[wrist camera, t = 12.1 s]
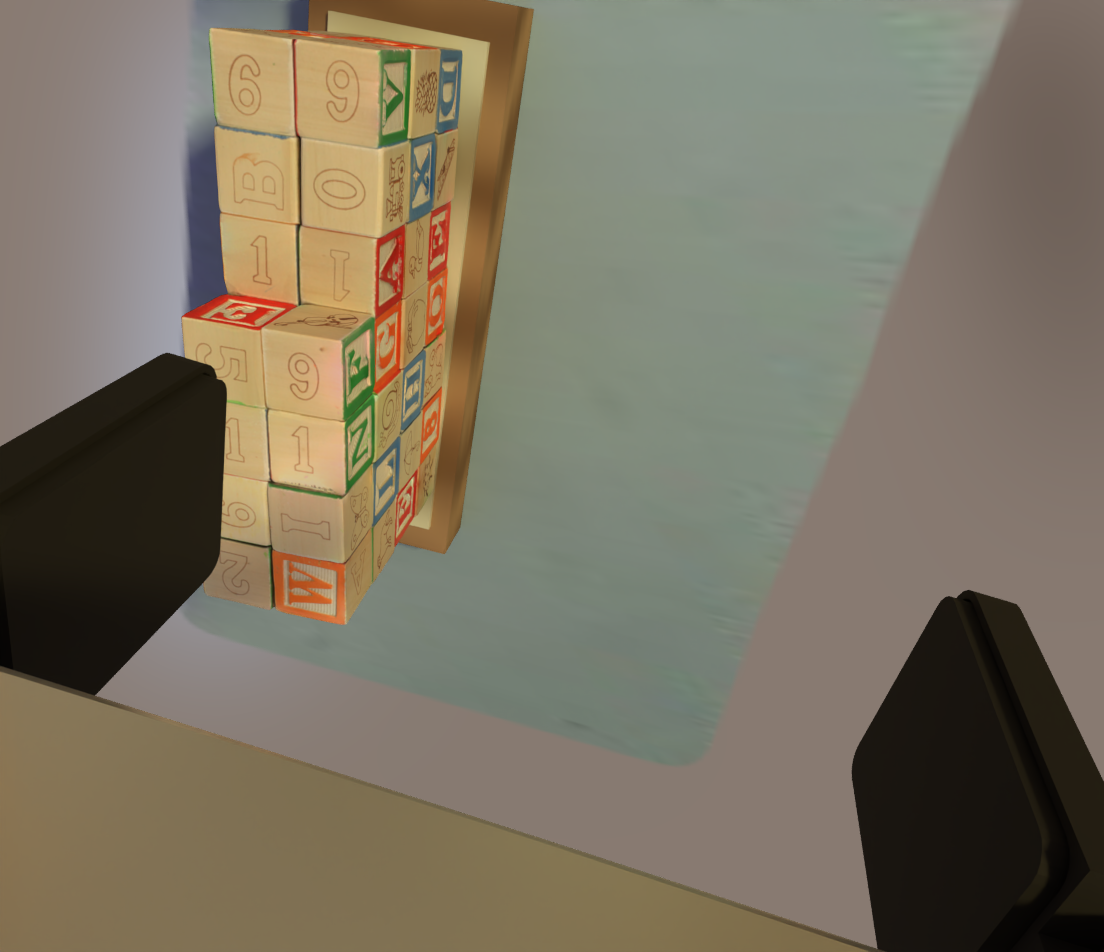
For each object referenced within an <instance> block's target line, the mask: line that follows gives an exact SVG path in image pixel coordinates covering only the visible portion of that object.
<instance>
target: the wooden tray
mask: <svg viewBox="0 0 1104 952" xmlns="http://www.w3.org/2000/svg"><path fill="white" fill-rule="evenodd" d="M533 11H534V9H529V8H524V7H519V6H514V5H509V4H503V3H498V2H493V1H488V0H309V20H308V31H328V32H340V33H349V34H358V35H365V36H372V37H379V38H386V39H390V40H395V41H403V42H410V43H417V44H425V45H432V46H439V47H446V48H453V49H460V50H462V54H463V57H462V75H461V91H460V107H459V119H458V147H457V161H456V175H455V190H454V198H453V199H452V200H451V213H450V228H449V246H448V258H447V268H448V277H447V292H446V303H445V321H444V328H445V330H446V342H445V358H444V372H443V382H442V397H441V412H440V427H439V438H438V441H437V448H436V460H435V474H434V488H433V491H432V493H431V494H430V496H429V498H428V499H427V501H426V503H425V504H424V506H423V508H422V509H421V511H420V512H419V514H418V515H417V516H416V517H414V518H413V520H412V522H411V523H410V525H409V526H408V528H407V529H406V531H405V533H404V534H403V536H402V538H401V539H400V540H399V543H403V544H407V545H411V546H415V547H419V548H423V549H427V550H431V551H434V552H438V553H442V554H445V553H446V551H447V549H448V548H449V546H450V544H451V542H452V541H453V539H454V537H455V535H456V534H457V532H458V530H459V528H460V524H461V517H462V510H463V503H464V496H465V489H466V482H467V475H468V468H469V461H470V454H471V447H472V440H473V433H474V426H475V419H476V412H477V405H478V398H479V391H480V383H481V376H482V369H483V362H484V355H485V348H486V341H487V334H488V327H489V320H490V313H491V306H492V299H493V292H494V285H495V278H496V271H497V264H498V257H499V250H500V243H501V236H502V229H503V222H504V215H505V208H506V201H507V194H508V187H509V180H510V173H511V166H512V159H513V152H514V145H515V138H516V130H517V123H518V116H519V109H520V102H521V95H522V88H523V81H524V74H525V67H526V60H527V53H528V46H529V39H530V32H531V25H532V18H533Z"/></svg>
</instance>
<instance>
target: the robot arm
mask: <svg viewBox="0 0 1104 952" xmlns="http://www.w3.org/2000/svg"><path fill="white" fill-rule="evenodd" d="M226 407H227V388H226V384H225V383H224V381H223V380H220V379H217V375H216V372H215V369H214V368H213V367H212V366H211V365H208V364H204V363H201V362H198V361H194V360H191V359H188V358H184V357H181V356H177V355H174V354H170V353H165V354H162V355H160V356H158V357H156V358H154V359H153V360H151V361H149V362H148V363H146V364H144V365H142V366H140V367H139V368H137V369H135V370H133V371H132V372H130V373H128V374H127V375H125V376H123V377H121V378H120V379H118V380H116V381H114V382H112V383H111V384H109V385H107V386H105V387H104V388H102V389H100V390H98V391H97V392H95V393H93V394H91V395H90V396H88V397H86V398H85V399H83V400H81V401H79V402H77V403H76V404H74V405H72V406H70V407H69V408H67V409H65V410H63V411H62V412H60V413H58V414H56V415H55V416H53V417H51V418H50V419H48V420H46V421H44V422H43V423H41V424H39V425H37V426H35V427H34V428H32V429H30V430H28V431H27V432H25V433H23V434H22V435H20V436H18V437H16V438H15V439H13V440H11V441H9V442H7V443H6V444H4V445H2V446H1V447H0V952H1104V781H1103V779H1102V777H1101V775H1100V773H1099V771H1098V769H1097V767H1096V765H1095V763H1094V761H1093V758H1092V756H1091V754H1090V752H1089V750H1088V748H1087V746H1086V744H1085V742H1084V740H1083V738H1082V736H1081V734H1080V731H1079V729H1078V727H1077V725H1076V723H1075V721H1074V719H1073V717H1072V715H1071V713H1070V711H1069V709H1068V707H1067V705H1066V702H1065V701H1064V698H1063V697H1062V694H1061V692H1060V690H1059V688H1058V686H1057V684H1056V682H1055V680H1054V678H1053V675H1052V673H1051V671H1050V669H1049V667H1048V665H1047V663H1046V661H1045V659H1044V657H1043V655H1042V653H1041V651H1040V648H1039V646H1038V644H1037V642H1036V640H1035V638H1034V636H1033V634H1032V632H1031V630H1030V628H1029V626H1028V624H1027V621H1026V620H1025V617H1024V615H1023V613H1022V611H1021V609H1020V608H1019V607H1018V606H1017V604H1014V603H1011V602H1008V601H1004V600H1001V599H998V598H994V597H991V596H988V595H984V594H980V593H977V592H974V591H971V590H967V591H964V592H962V593H961V594H960V595H959V596H958V597H957V598H953V597H950V596H948V597H945V598H944V599H943V600H942V601H941V602H940V603H939V605H938V606H937V608H936V610H935V611H934V613H933V615H932V617H931V619H930V620H929V622H928V624H927V625H926V627H925V629H924V631H923V633H922V634H921V636H920V638H919V640H918V642H917V643H916V645H915V647H914V648H913V650H912V652H911V654H910V656H909V657H908V659H907V661H906V662H905V664H904V666H903V668H902V669H901V671H900V673H899V675H898V677H897V679H896V680H895V682H894V684H893V685H892V687H891V689H890V691H889V692H888V694H887V696H886V698H885V699H884V701H883V703H882V705H881V707H880V708H879V710H878V712H877V714H876V715H875V717H874V719H873V721H872V722H871V724H870V726H869V728H868V729H867V731H866V733H865V735H864V736H863V738H862V740H861V742H860V743H859V745H858V747H857V750H856V752H855V755H854V759H853V764H852V781H853V788H854V794H855V801H856V808H857V815H858V821H859V828H860V835H861V841H862V848H863V855H864V861H865V868H866V874H867V881H868V888H869V894H870V901H871V908H872V915H873V921H874V928H875V935H876V941H877V948H878V949H876V948H873V947H870V946H867V945H864V944H861V943H858V942H855V941H852V940H849V939H846V938H843V937H840V936H837V935H834V934H831V933H828V932H825V931H822V930H819V929H816V928H813V927H810V926H807V925H804V924H801V923H798V922H795V921H792V920H789V919H786V918H783V917H779V916H776V915H773V914H770V913H767V912H764V911H761V910H758V909H755V908H752V907H749V906H746V905H743V904H740V903H737V902H734V901H731V900H728V899H725V898H722V897H719V896H716V895H713V894H710V893H707V892H704V891H700V890H697V889H694V888H691V887H688V886H685V885H682V884H679V883H676V882H673V881H670V880H667V879H664V878H661V877H658V876H655V875H652V874H649V873H646V872H643V871H640V870H637V869H634V868H631V867H627V866H625V865H622V864H618V863H615V862H612V861H609V860H606V859H603V858H600V857H597V856H594V855H591V854H588V853H585V852H582V851H579V850H575V849H573V848H569V847H566V846H563V845H560V844H557V843H554V842H551V841H548V840H545V839H542V838H539V837H535V836H532V835H529V834H526V833H523V832H520V831H517V830H514V829H511V828H508V827H505V826H501V825H499V824H495V823H492V822H489V821H486V820H483V819H480V818H477V817H474V816H471V815H468V814H465V813H461V812H458V811H455V810H452V809H449V808H446V807H443V806H439V805H436V804H433V803H430V802H427V801H424V800H421V799H418V798H415V797H412V796H408V795H405V794H402V793H399V792H396V791H393V790H390V789H387V788H384V787H381V786H377V785H374V784H371V783H368V782H365V781H362V780H359V779H356V778H353V777H350V776H347V775H343V774H340V773H337V772H334V771H331V770H328V769H325V768H321V767H319V766H315V765H312V764H309V763H306V762H303V761H300V760H296V759H293V758H290V757H287V756H284V755H280V754H278V753H274V752H271V751H268V750H265V749H262V748H258V747H255V746H252V745H249V744H246V743H243V742H240V741H236V740H233V739H230V738H227V737H224V736H221V735H217V734H214V733H211V732H208V731H205V730H202V729H199V728H195V727H192V726H189V725H186V724H182V723H180V722H176V721H173V720H170V719H167V718H163V717H160V716H157V715H154V714H151V713H148V712H145V711H142V710H138V709H135V708H132V707H129V706H126V705H123V704H120V703H116V702H113V701H110V700H107V699H103V698H101V697H97V696H95V695H96V694H97V693H98V692H99V691H100V690H101V689H102V688H103V687H104V686H105V685H106V683H107V682H108V681H109V680H110V679H111V678H112V677H113V676H114V675H115V674H116V673H117V672H118V671H119V670H120V669H121V668H122V667H123V666H124V665H125V664H126V663H127V662H128V661H129V660H130V658H131V657H132V656H133V655H134V654H135V653H136V652H137V651H138V650H139V649H140V648H141V647H142V646H143V645H144V644H145V643H146V642H147V641H148V640H149V639H150V638H151V636H152V635H153V634H154V633H155V632H156V631H157V630H158V629H159V628H160V627H161V626H162V625H163V624H164V623H165V622H166V621H167V620H168V619H169V618H170V617H171V616H172V615H173V614H174V613H175V612H176V610H178V608H179V607H180V606H181V605H182V604H183V603H184V602H185V601H186V600H187V599H188V598H189V597H190V596H191V595H192V594H193V593H194V592H195V591H196V590H197V589H198V588H199V587H200V586H201V585H202V583H203V582H204V581H205V580H206V579H207V578H208V577H209V576H210V575H211V573H212V572H213V570H214V568H215V566H216V564H217V562H218V558H219V555H220V548H221V524H222V501H223V478H224V454H225V431H226Z"/></svg>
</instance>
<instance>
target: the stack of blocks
mask: <svg viewBox="0 0 1104 952" xmlns="http://www.w3.org/2000/svg"><path fill="white" fill-rule="evenodd" d="M209 45H210V58H211V71H212V86H213V101H214V113H215V117H216V121H217V125H216V126H215V127H214V137H215V150H216V168H217V181H218V197H219V208H220V211H221V214H220V235H221V248H222V258H223V270H224V281H225V284H226V288H227V291H228V294H225V295H221V296H219V297H217V298H215V299H213V300H211V301H210V302H208V303H206V304H204V305H202V306H200V307H197V308H196V309H194V310H192V311H190V312H188V313H186V314H185V315H183V316H182V317H181V319H182V332H183V342H184V352H185V358H188V359H191V360H194V361H198V362H201V363H204V364H208V365H211V366H212V367H213V368H214V369H215V372H216V375H217V379H220V380H223V381H224V383H225V384H226V388H227V407H226V431H225V454H224V478H223V501H222V524H221V548H220V555H219V558H218V562H217V564H216V566H215V568H214V570H213V572H212V573H211V575H210V576H209V577H208V578H207V579H206V580H205V581H204V582H203V583H204V591H205V594H207V595H208V596H212V597H217V598H222V599H226V600H230V601H235V602H239V603H244V604H248V605H252V606H256V607H259V608H263V609H267V610H270V609H272V608H273V607H275V608H276V609H277V610H278V611H281V612H284V613H287V614H293V615H298V616H302V617H307V618H311V619H316V620H321V621H326V622H331V623H336V624H342V625H345V624H346V623H347V622H348V621H349V619H350V618H351V616H352V614H353V613H354V611H355V610H356V608H357V606H358V605H359V603H360V602H361V600H362V598H363V597H364V595H365V593H366V592H367V590H368V589H369V587H370V585H371V584H373V582H374V581H375V580H376V578H377V576H378V575H379V573H380V572H381V571H382V569H383V567H384V566H385V564H386V563H387V562H388V560H389V558H390V557H391V555H392V554H393V552H394V547H395V546H396V545H397V543H398V542H399V540H400V539H401V538H402V536H403V534H404V533H405V531H406V529H407V528H408V526H409V525H410V523H411V522H412V520H413V518H414V517H416V516H417V515H418V514H419V512H420V511H421V509H422V508H423V506H424V504H425V503H426V501H427V499H428V498H429V496H430V494H431V493H432V491H433V488H434V474H435V460H436V448H437V441H438V438H439V427H440V412H441V397H442V382H443V372H444V358H445V342H446V330H445V328H444V321H445V303H446V292H447V277H448V268H447V258H448V246H449V228H450V213H451V200H452V199H453V198H454V190H455V175H456V161H457V147H458V119H459V107H460V91H461V75H462V57H463V54H462V50H460V49H453V48H446V47H439V46H432V45H425V44H417V43H410V42H403V41H395V40H390V39H386V38H379V37H372V36H365V35H358V34H349V33H340V32H328V31H298V30H256V29H235V28H210V30H209Z"/></svg>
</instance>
